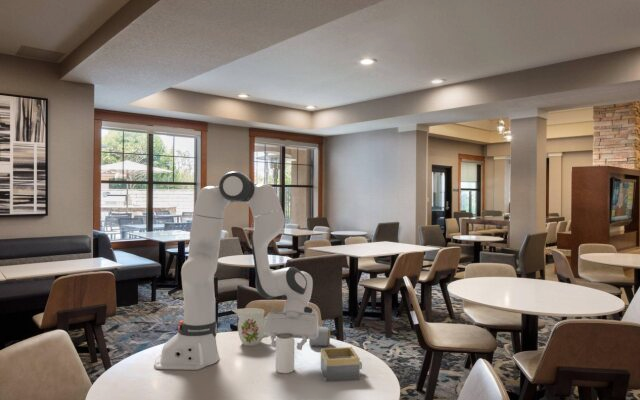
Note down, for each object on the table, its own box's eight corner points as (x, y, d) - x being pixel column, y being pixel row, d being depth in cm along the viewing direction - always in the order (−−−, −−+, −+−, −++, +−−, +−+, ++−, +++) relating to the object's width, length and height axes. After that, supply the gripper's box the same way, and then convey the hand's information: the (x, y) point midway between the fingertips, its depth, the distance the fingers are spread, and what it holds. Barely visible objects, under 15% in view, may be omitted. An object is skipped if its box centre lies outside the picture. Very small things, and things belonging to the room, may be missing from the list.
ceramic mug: (329, 348, 174) (329, 329, 174) (309, 348, 174) (309, 328, 174) (330, 340, 184) (330, 322, 184) (310, 340, 185) (311, 321, 185)
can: (297, 368, 154) (297, 333, 154) (289, 375, 148) (290, 339, 147) (280, 365, 156) (280, 331, 156) (272, 372, 150) (272, 337, 150)
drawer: (326, 381, 142) (326, 360, 142) (320, 368, 153) (320, 348, 153) (365, 379, 145) (365, 357, 145) (356, 366, 155) (357, 346, 155)
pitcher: (275, 347, 175) (275, 312, 175) (229, 348, 173) (230, 313, 173) (276, 338, 186) (276, 306, 186) (233, 339, 184) (233, 306, 184)
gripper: (266, 306, 162) (255, 340, 153) (319, 309, 157) (312, 346, 147) (270, 315, 166) (260, 349, 157) (322, 318, 161) (315, 354, 152)
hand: (286, 347), depth 152 cm, fingers open, 8 cm apart
